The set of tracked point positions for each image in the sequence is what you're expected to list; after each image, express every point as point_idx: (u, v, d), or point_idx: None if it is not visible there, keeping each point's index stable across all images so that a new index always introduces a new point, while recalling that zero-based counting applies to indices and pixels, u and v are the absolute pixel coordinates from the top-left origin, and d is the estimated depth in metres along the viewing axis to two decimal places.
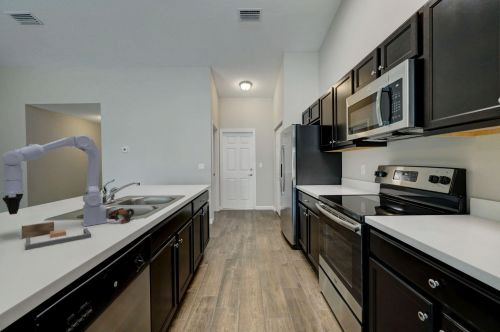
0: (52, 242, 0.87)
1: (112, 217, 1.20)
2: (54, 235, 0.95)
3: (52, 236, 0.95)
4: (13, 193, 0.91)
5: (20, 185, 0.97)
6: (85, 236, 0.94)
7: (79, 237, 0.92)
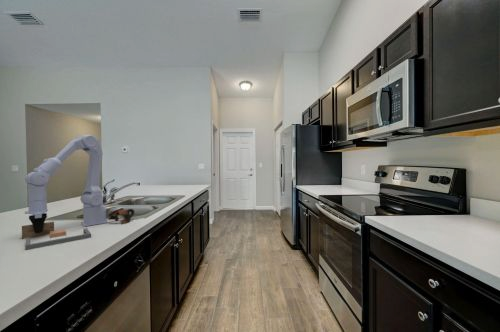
0: (52, 242, 0.87)
1: (112, 217, 1.19)
2: (54, 235, 0.95)
3: (52, 236, 0.95)
4: (39, 214, 0.93)
5: (45, 205, 0.98)
6: (85, 236, 0.94)
7: (79, 237, 0.92)
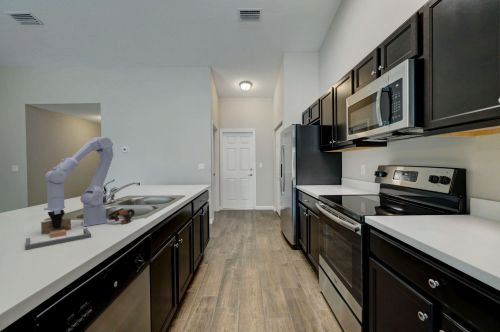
0: (52, 242, 0.87)
1: (112, 218, 1.18)
2: (54, 235, 0.95)
3: (52, 236, 0.95)
4: (58, 210, 0.98)
5: (62, 202, 1.03)
6: (85, 236, 0.94)
7: (79, 237, 0.92)
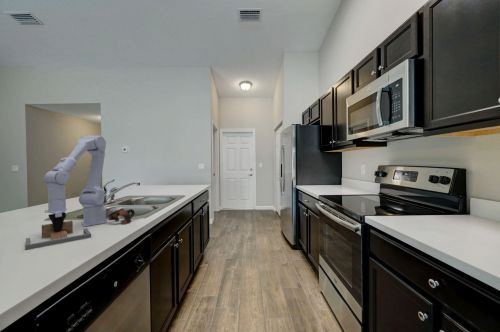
0: (52, 242, 0.87)
1: (112, 218, 1.18)
2: (55, 236, 0.93)
3: (53, 237, 0.93)
4: (59, 213, 0.93)
5: (64, 204, 0.98)
6: (85, 236, 0.94)
7: (79, 237, 0.92)
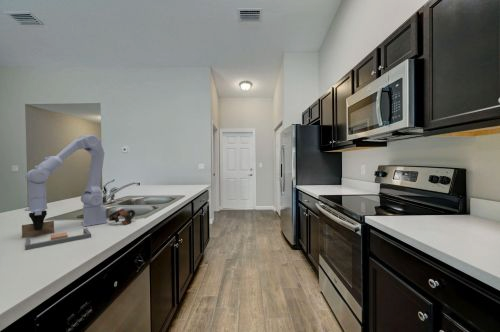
0: (52, 242, 0.87)
1: (112, 218, 1.17)
2: None
3: None
4: (39, 211, 0.93)
5: (44, 202, 0.99)
6: (85, 236, 0.94)
7: (79, 237, 0.92)
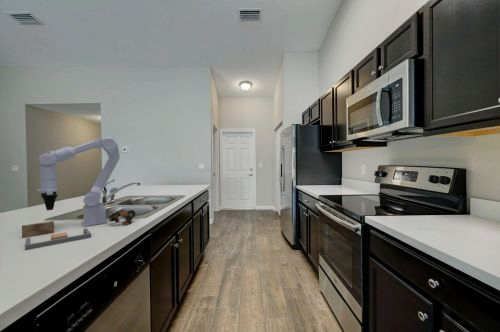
0: (52, 242, 0.87)
1: (112, 219, 1.16)
2: None
3: None
4: (50, 191, 1.02)
5: (55, 184, 1.07)
6: (85, 236, 0.94)
7: (79, 237, 0.92)
